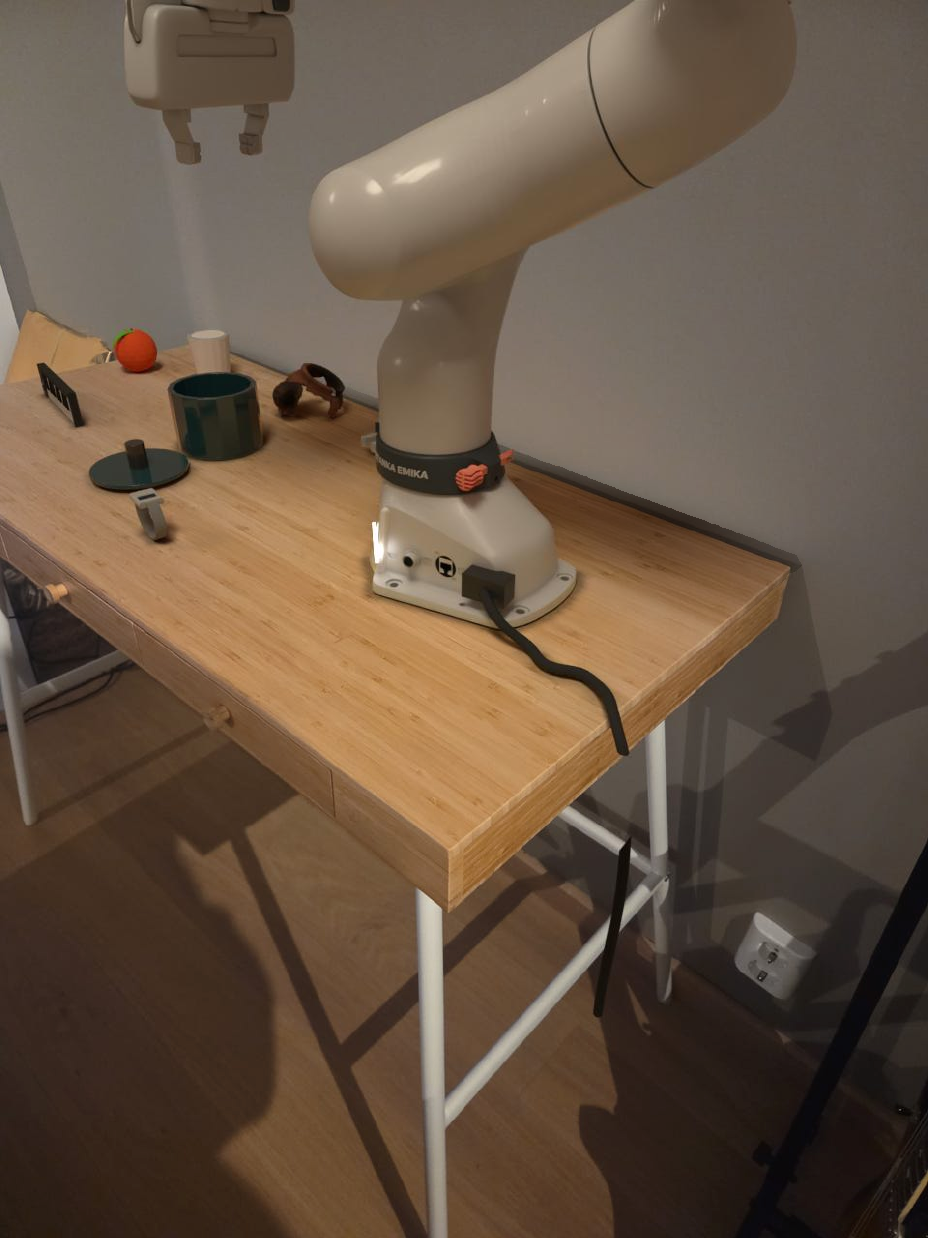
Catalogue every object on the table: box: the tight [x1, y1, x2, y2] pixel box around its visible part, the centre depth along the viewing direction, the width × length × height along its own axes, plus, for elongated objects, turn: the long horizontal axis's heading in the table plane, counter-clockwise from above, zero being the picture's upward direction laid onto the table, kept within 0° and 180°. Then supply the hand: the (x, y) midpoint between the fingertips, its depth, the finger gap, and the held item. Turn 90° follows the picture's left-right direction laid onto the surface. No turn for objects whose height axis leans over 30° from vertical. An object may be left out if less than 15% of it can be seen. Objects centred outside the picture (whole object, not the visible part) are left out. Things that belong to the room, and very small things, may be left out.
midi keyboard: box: [36, 362, 85, 428], centre depth 126 cm, size 18×1×5 cm, turn 36°
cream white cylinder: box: [186, 328, 232, 374], centre depth 140 cm, size 7×7×7 cm
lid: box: [88, 438, 190, 490], centre depth 106 cm, size 12×12×4 cm
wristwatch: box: [128, 487, 168, 541], centre depth 92 cm, size 6×3×5 cm, turn 37°
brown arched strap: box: [271, 362, 346, 419], centre depth 125 cm, size 12×10×8 cm
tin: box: [167, 371, 264, 462], centre depth 114 cm, size 11×11×8 cm
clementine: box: [112, 328, 158, 372], centre depth 141 cm, size 8×7×7 cm
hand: (221, 158), depth 82 cm, fingers open, 8 cm apart
